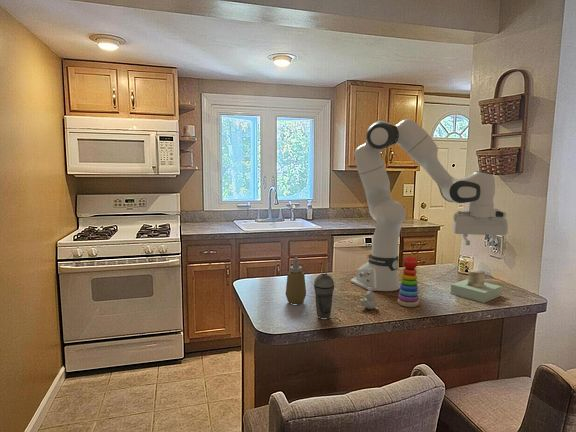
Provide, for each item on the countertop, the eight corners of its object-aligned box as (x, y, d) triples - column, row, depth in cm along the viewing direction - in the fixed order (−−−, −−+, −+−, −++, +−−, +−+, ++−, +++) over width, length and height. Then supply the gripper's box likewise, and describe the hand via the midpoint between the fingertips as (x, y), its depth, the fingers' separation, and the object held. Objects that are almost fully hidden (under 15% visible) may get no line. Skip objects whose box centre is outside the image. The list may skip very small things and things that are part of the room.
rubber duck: (379, 310, 145) (380, 289, 144) (363, 312, 143) (363, 291, 142) (373, 305, 150) (374, 285, 149) (357, 306, 149) (357, 286, 148)
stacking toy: (420, 308, 147) (422, 259, 145) (398, 307, 149) (400, 258, 146) (417, 301, 155) (419, 255, 152) (396, 300, 156) (398, 254, 154)
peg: (467, 294, 164) (468, 271, 162) (472, 292, 166) (474, 269, 165) (477, 297, 160) (479, 273, 159) (483, 295, 163) (484, 271, 161)
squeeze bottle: (291, 308, 147) (291, 261, 145) (281, 301, 154) (281, 256, 152) (310, 304, 151) (310, 258, 148) (299, 298, 158) (300, 254, 156)
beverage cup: (314, 312, 143) (314, 258, 140) (334, 313, 142) (335, 259, 139) (312, 320, 135) (313, 264, 133) (333, 321, 134) (334, 264, 132)
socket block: (450, 293, 164) (451, 284, 164) (467, 287, 173) (468, 278, 172) (483, 302, 153) (484, 293, 153) (500, 295, 162) (501, 286, 161)
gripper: (456, 211, 157) (454, 245, 159) (510, 213, 155) (507, 247, 156) (451, 210, 163) (449, 242, 165) (504, 211, 161) (501, 244, 162)
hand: (478, 245), depth 161 cm, fingers open, 7 cm apart
